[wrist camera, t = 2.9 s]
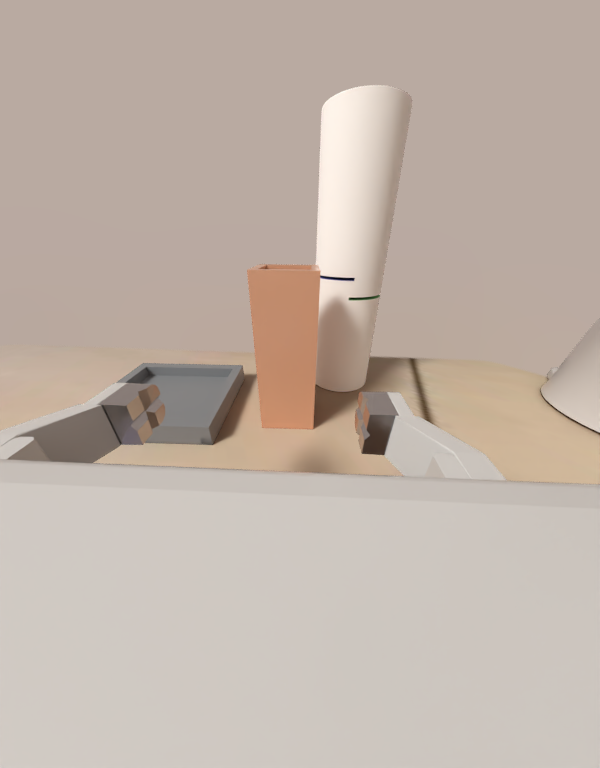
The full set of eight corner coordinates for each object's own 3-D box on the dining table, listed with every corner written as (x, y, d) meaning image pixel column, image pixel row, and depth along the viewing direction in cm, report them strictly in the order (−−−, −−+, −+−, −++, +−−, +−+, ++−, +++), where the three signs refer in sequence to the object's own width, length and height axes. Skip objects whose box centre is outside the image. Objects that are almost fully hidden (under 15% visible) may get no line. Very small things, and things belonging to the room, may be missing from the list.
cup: (312, 400, 28) (318, 264, 20) (313, 429, 23) (320, 270, 16) (269, 399, 28) (260, 264, 21) (262, 427, 23) (247, 269, 16)
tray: (244, 379, 32) (242, 365, 31) (212, 444, 21) (208, 427, 20) (147, 376, 32) (143, 363, 31) (70, 440, 22) (59, 423, 21)
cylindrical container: (317, 363, 36) (329, 131, 23) (366, 369, 34) (407, 123, 22) (306, 387, 30) (312, 92, 17) (364, 395, 28) (418, 78, 16)
